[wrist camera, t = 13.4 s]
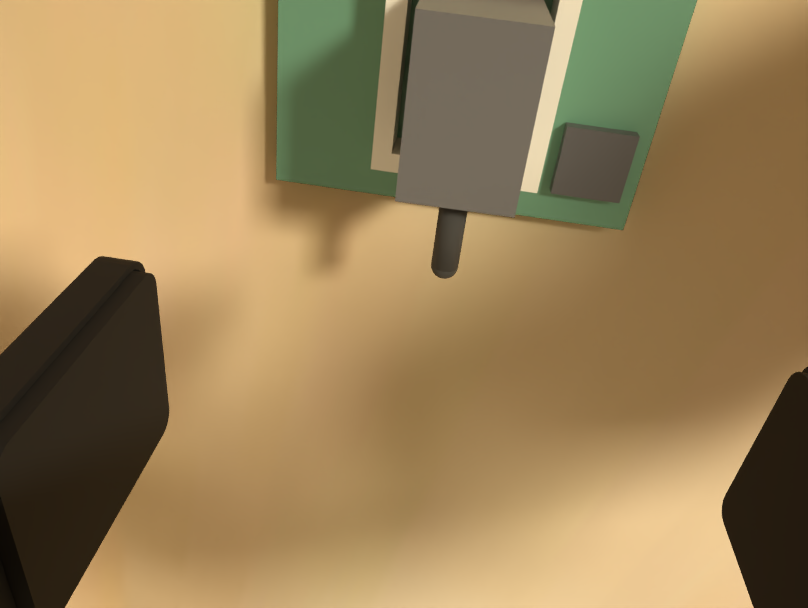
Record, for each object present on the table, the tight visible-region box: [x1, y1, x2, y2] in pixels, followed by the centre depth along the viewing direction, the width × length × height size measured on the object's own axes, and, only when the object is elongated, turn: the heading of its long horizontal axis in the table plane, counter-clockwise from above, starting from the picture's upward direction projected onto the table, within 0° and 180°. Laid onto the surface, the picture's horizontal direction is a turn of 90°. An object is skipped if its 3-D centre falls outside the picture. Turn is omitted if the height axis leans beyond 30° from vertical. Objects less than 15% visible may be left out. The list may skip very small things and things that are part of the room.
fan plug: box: [395, 0, 555, 279], centre depth 25 cm, size 4×10×8 cm, turn 174°
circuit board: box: [276, 0, 697, 230], centre depth 27 cm, size 16×13×3 cm
